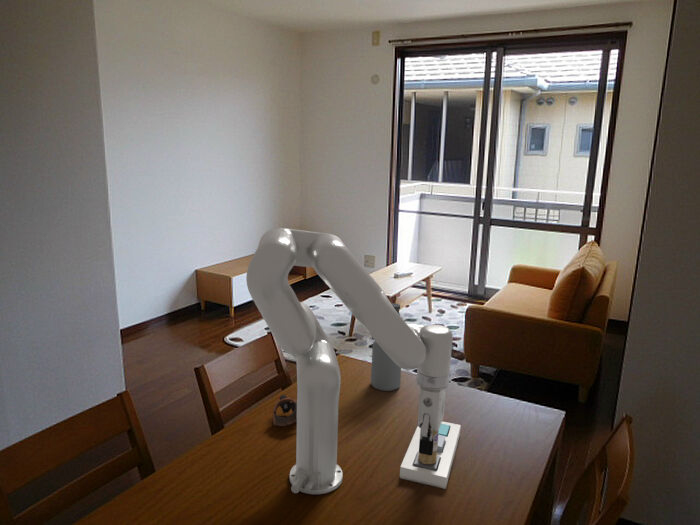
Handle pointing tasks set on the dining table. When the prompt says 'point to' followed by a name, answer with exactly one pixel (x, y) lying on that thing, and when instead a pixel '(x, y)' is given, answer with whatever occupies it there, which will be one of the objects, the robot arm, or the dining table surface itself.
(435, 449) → the sprinkles bottle
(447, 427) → the teal key
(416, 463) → the charcoal key
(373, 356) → the water bottle
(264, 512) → the dining table surface
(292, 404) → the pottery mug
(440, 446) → the slate key
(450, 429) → the keypad frame
